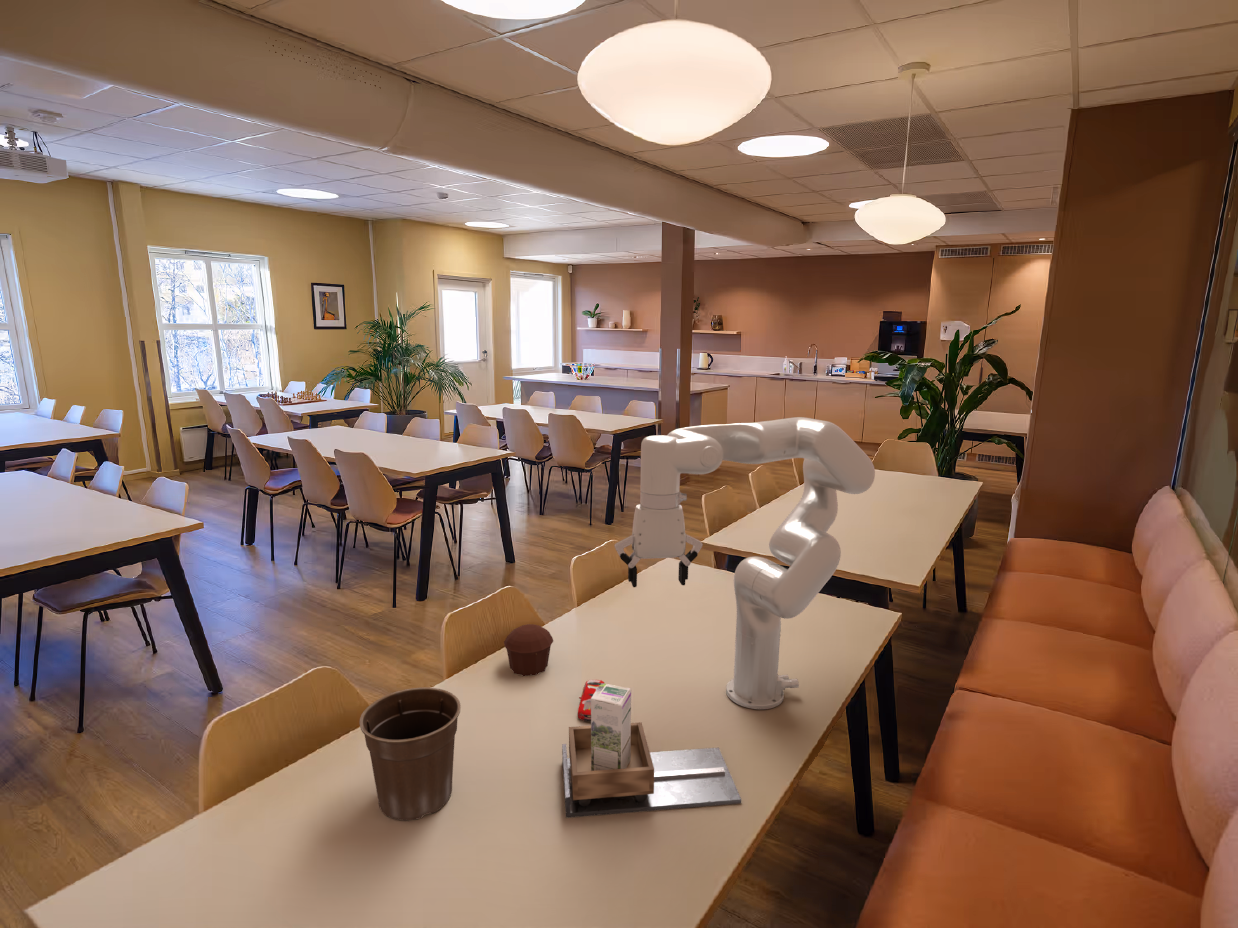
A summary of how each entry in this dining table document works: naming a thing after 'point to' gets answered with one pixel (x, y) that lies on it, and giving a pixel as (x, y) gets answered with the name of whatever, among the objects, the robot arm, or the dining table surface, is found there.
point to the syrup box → (610, 727)
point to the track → (666, 785)
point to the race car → (587, 699)
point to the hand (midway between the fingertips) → (657, 583)
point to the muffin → (528, 649)
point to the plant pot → (412, 750)
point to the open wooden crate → (613, 781)
